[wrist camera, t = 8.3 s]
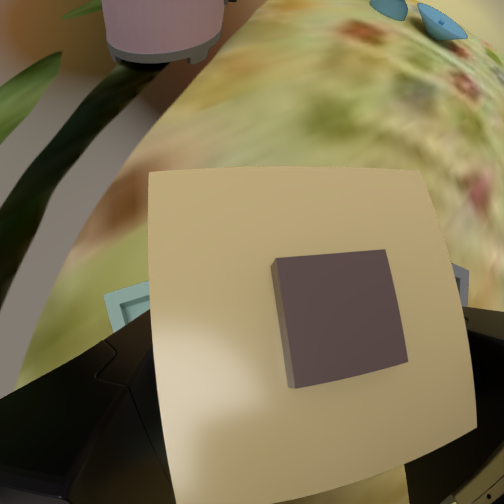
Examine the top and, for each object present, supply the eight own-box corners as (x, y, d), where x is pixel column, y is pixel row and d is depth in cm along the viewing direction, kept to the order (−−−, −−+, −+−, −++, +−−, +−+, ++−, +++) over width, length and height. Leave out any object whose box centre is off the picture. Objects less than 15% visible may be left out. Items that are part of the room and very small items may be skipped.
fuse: (286, 394, 14) (490, 427, 3) (198, 405, 14) (176, 524, 2) (274, 310, 16) (429, 161, 4) (188, 318, 15) (146, 158, 4)
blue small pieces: (454, 41, 43) (474, 10, 35) (459, 63, 39) (483, 28, 31) (372, -4, 43) (388, -39, 35) (366, 10, 39) (384, -31, 31)
